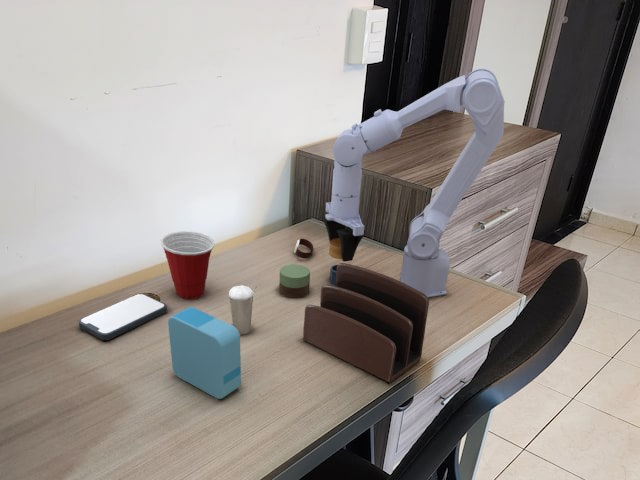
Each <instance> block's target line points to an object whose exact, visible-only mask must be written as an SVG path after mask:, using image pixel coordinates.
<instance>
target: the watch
mask: <svg viewBox="0 0 640 480" xmlns="http://www.w3.org/2000/svg"><path fill="white" fill-rule="evenodd" d="M299 246H305V247H306V248H308V249H309V250H310V251H309V252H306V251H305V252H304V251H301V250H300V249H299ZM314 249H315V247H314V245H313V243H312V242H311V241H310V240H309V239H306V238H299V239H297V240H296V244H295V246H294V251H293V253H294V254H295V255H296V256H297V257H298V258H299V259H303V260H304V259H306V260H307V259H309V258H310V257H312V256H313V253H314Z"/></svg>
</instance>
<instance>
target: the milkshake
mask: <svg viewBox="0 0 640 480" xmlns="http://www.w3.org/2000/svg"><path fill="white" fill-rule="evenodd" d="M258 285H259V284H258V283H257V284H256V286H255V288H254V290H253V289H252V288H251V287H249V286H246V285H244V284H243V285H235V286H233V287H232V288H230V290H229V291H228V297H229V298H228V299H229V304H230V312H231V322H232V326H234V327H235V328H236V329H237V330H238V332H239V335H240V336H241V335H248V334H249V333H250V332H251V330H252V316H253V303H254V294H255V292H256V289H257V288H258Z"/></svg>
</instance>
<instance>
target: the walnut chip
mask: <svg viewBox="0 0 640 480" xmlns="http://www.w3.org/2000/svg"><path fill="white" fill-rule="evenodd" d="M278 283H279V288H278V291H279V294H280V295H281V296H283V297H285V298H288V299H289V298H290V299H300V298H304V297H306V296H308V295H309V293H310V286H311V285H310V283H311V281H310V282H309V284H308V285H307V286H304V287H301V288H290V287H286V286H284V285H282V284H281V283H280V282H278Z"/></svg>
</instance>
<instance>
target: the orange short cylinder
mask: <svg viewBox="0 0 640 480" xmlns="http://www.w3.org/2000/svg"><path fill="white" fill-rule="evenodd" d="M328 255H329V256H330V257H331V258H333V259H336V260H342V255H341V242H340V238H335V239H332V240H331V241H330V242H329V247H328Z"/></svg>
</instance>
